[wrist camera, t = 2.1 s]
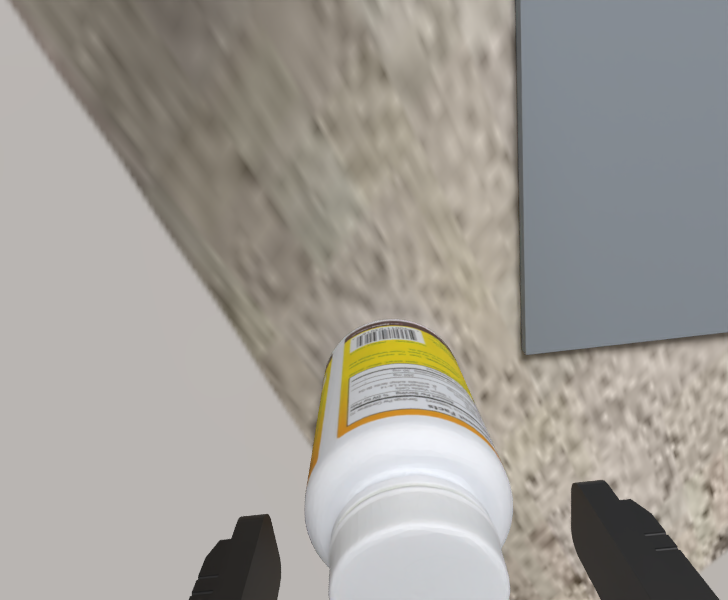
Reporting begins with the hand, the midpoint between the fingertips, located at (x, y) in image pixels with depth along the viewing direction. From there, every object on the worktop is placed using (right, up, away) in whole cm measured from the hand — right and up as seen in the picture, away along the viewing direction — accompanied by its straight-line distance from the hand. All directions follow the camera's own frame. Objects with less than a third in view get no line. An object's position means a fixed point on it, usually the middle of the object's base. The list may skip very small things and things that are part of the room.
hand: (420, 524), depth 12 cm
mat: (+10, +11, +5) cm, 15 cm away
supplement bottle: (0, +3, +8) cm, 8 cm away
